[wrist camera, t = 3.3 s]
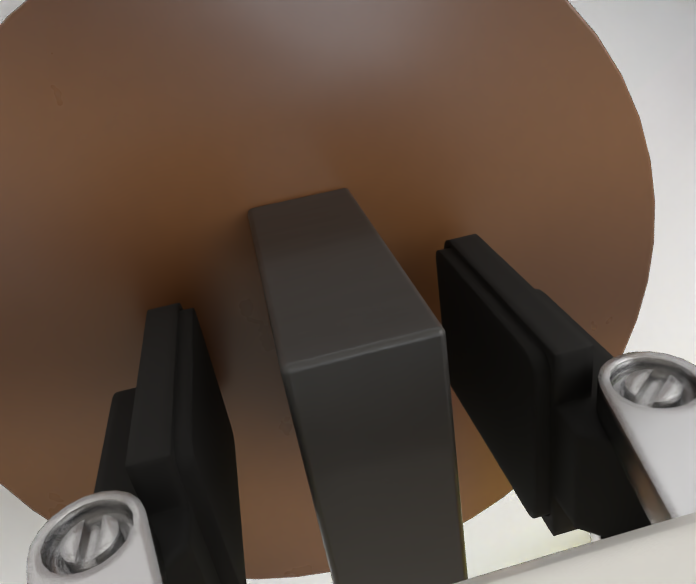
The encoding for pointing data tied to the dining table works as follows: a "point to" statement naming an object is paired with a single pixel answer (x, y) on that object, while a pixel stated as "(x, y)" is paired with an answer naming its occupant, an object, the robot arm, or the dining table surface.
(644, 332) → the dining table surface
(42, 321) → the turntable
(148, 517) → the robot arm
